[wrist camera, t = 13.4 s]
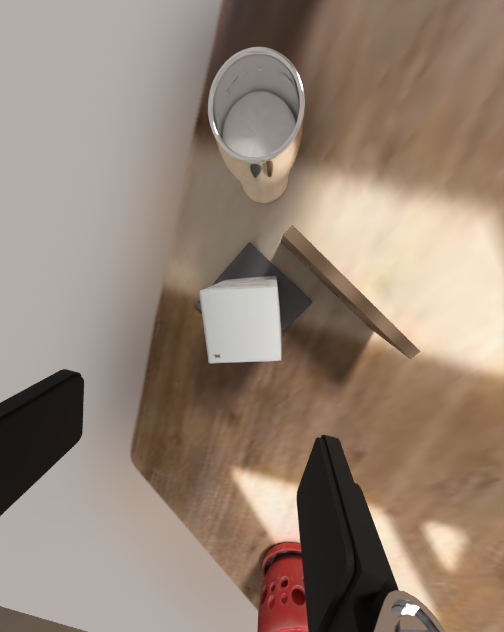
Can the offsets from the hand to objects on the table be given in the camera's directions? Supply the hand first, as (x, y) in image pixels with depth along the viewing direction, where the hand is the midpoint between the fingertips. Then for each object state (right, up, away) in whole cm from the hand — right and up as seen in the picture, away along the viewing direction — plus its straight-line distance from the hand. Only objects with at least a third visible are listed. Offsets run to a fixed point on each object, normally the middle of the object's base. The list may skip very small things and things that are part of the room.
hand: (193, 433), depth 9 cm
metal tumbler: (+4, +22, +21) cm, 31 cm away
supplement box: (+2, +7, +25) cm, 26 cm away
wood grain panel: (+13, +9, +24) cm, 29 cm away
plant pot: (+11, -43, +38) cm, 58 cm away
